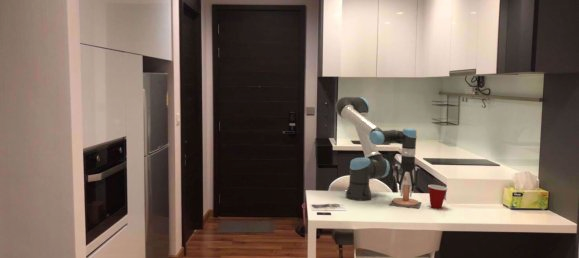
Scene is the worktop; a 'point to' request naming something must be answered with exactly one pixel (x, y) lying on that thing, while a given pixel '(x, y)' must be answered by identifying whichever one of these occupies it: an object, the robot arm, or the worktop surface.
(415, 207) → the mat
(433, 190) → the plastic cup
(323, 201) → the worktop surface
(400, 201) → the lid
